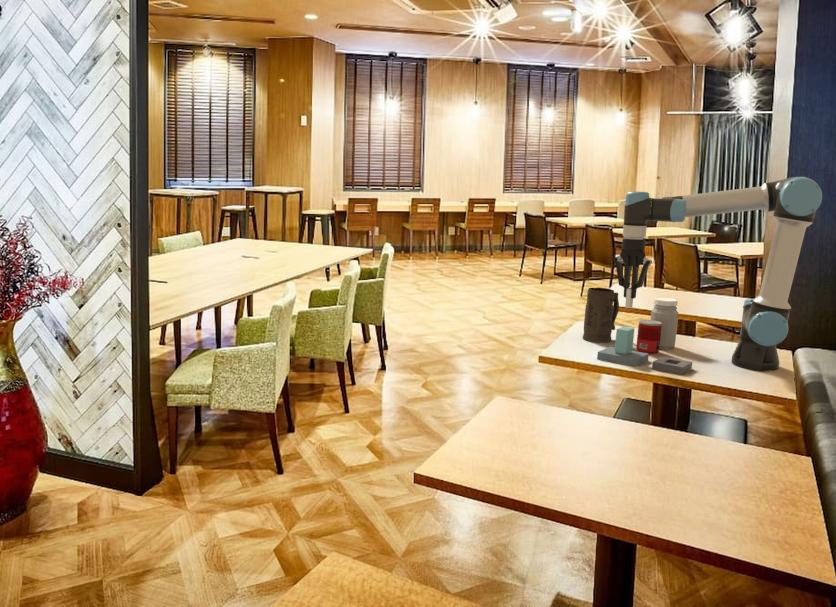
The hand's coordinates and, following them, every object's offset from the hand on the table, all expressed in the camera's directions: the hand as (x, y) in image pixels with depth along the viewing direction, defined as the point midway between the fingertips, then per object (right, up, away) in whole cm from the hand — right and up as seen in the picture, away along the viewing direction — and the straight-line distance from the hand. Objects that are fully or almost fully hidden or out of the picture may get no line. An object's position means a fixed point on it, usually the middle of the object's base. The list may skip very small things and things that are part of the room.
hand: (628, 307), depth 266 cm
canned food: (+11, -16, +18) cm, 27 cm away
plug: (-1, -18, +3) cm, 18 cm away
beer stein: (-1, -12, +35) cm, 37 cm away
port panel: (-1, -18, +3) cm, 18 cm away
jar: (+19, -15, +27) cm, 36 cm away
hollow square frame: (+13, -20, -6) cm, 25 cm away
